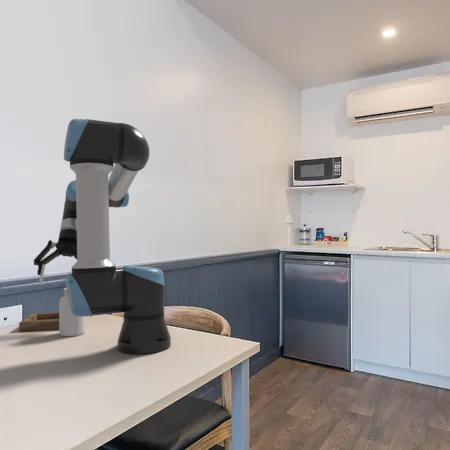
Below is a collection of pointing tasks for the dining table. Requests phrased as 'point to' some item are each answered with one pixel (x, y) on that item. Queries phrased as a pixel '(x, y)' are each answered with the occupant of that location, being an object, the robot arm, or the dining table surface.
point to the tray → (40, 322)
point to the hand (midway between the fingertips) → (62, 285)
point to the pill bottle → (69, 319)
